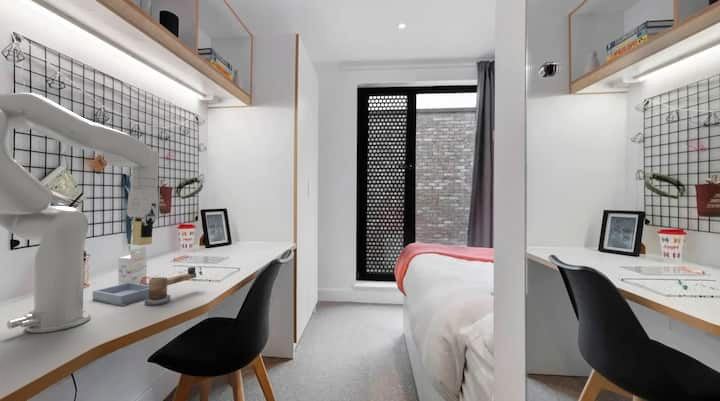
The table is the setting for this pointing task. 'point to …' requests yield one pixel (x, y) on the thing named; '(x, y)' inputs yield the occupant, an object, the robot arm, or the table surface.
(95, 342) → the table surface
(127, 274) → the ink cartridge box
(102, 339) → the table surface
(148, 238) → the yellow rectangular block
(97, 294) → the tray
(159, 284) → the wooden mallet
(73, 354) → the table surface
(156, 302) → the crank base
